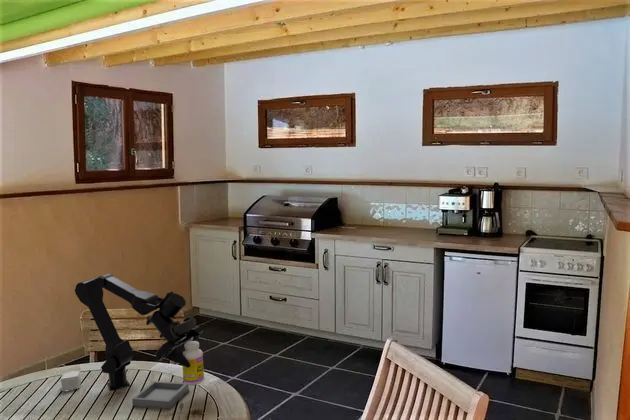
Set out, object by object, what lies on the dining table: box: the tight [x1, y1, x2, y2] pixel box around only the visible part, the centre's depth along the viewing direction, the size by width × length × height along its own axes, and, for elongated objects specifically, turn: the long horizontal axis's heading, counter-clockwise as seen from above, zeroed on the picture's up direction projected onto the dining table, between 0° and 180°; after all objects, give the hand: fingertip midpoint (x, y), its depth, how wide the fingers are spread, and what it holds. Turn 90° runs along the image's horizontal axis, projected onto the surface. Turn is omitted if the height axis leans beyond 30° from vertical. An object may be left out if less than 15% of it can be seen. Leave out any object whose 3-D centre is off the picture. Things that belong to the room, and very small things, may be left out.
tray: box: [131, 380, 190, 410], centre depth 172 cm, size 13×13×2 cm
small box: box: [60, 369, 82, 392], centre depth 184 cm, size 6×6×5 cm
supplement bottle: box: [181, 341, 205, 386], centre depth 170 cm, size 7×7×13 cm
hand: (196, 362), depth 170 cm, fingers closed on supplement bottle, 7 cm apart
